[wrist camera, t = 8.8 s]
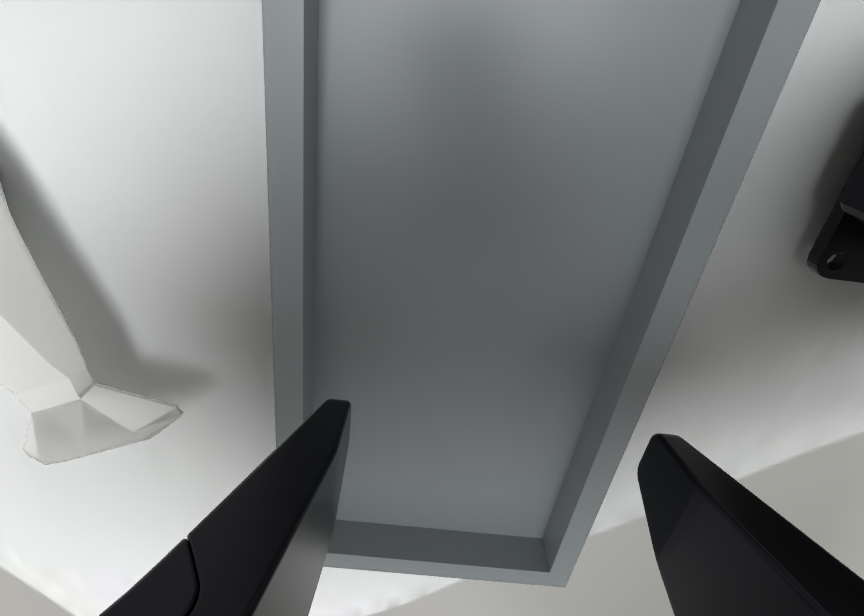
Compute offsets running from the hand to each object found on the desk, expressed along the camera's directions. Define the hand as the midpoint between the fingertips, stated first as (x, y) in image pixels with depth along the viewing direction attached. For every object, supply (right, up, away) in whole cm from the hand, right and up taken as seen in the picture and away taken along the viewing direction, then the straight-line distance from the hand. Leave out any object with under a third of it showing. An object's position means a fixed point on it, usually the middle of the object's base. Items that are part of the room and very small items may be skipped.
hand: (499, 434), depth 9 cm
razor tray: (0, +3, +6) cm, 7 cm away
